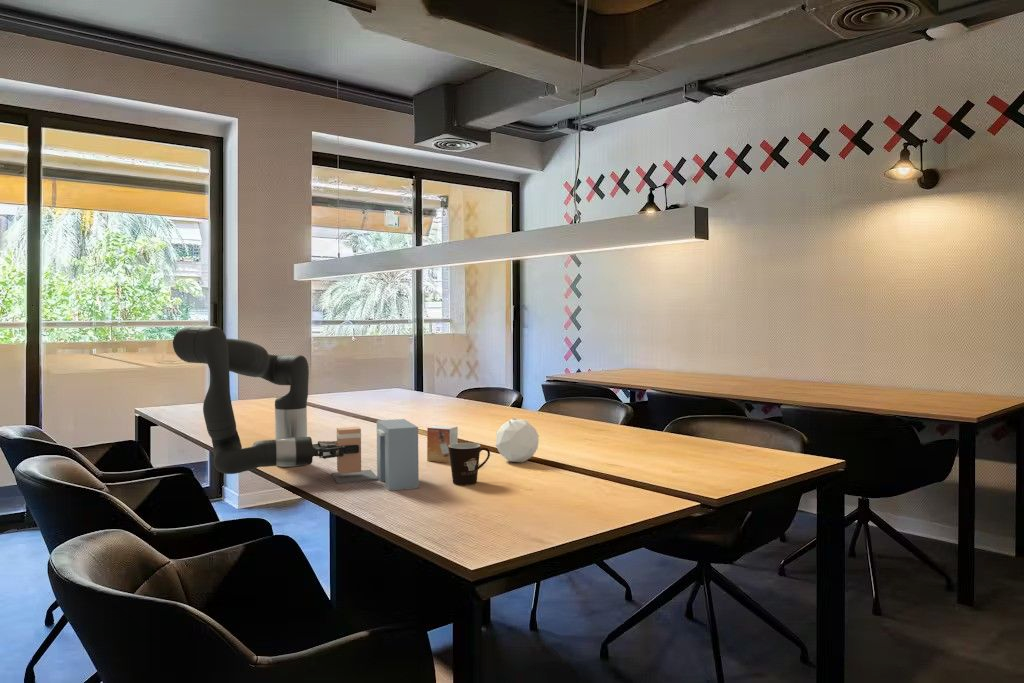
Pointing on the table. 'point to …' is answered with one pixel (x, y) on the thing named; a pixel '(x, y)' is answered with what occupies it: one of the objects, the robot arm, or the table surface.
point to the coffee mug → (465, 462)
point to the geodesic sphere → (517, 440)
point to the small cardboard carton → (353, 460)
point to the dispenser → (397, 454)
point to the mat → (355, 476)
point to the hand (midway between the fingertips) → (357, 447)
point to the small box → (440, 442)
